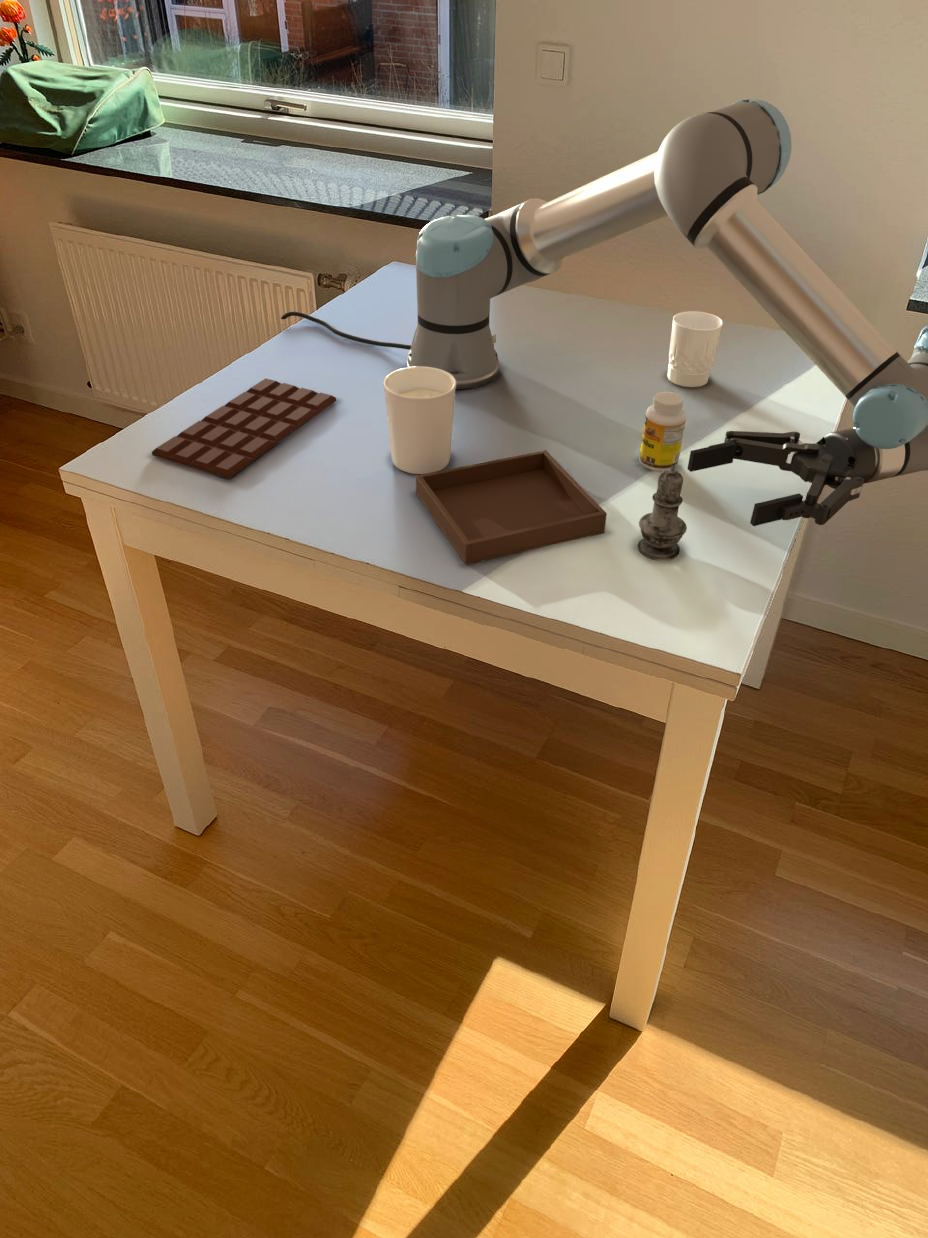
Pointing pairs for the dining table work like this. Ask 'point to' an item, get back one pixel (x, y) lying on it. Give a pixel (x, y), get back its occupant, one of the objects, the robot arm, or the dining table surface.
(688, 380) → the white cup
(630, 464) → the dining table surface
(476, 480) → the tray
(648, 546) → the salt shaker
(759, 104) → the robot arm
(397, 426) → the candle holder
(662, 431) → the supplement bottle
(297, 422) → the chocolate bar
